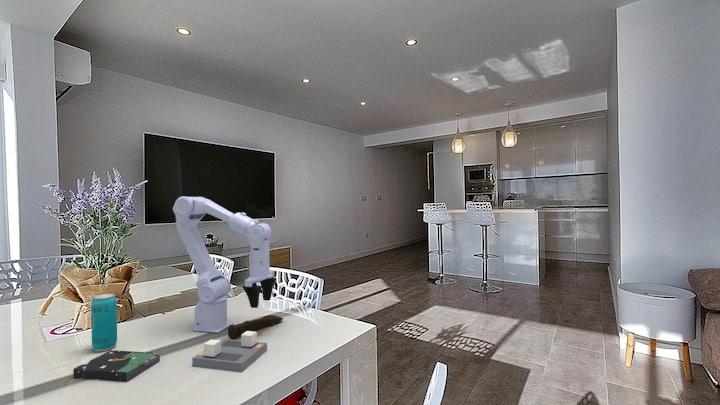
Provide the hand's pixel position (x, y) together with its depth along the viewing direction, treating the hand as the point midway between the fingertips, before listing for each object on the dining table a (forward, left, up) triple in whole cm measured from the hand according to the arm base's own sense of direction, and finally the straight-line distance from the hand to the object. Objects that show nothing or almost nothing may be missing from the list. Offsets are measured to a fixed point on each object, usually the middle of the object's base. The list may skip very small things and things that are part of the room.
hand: (260, 303), depth 107 cm
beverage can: (-37, -21, -9) cm, 43 cm away
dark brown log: (+1, -1, -7) cm, 7 cm away
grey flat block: (+2, -19, -8) cm, 21 cm away
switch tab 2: (+5, -15, -6) cm, 17 cm away
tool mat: (-3, 0, -8) cm, 9 cm away
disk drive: (-22, -30, -9) cm, 38 cm away
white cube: (-1, -22, -6) cm, 23 cm away
